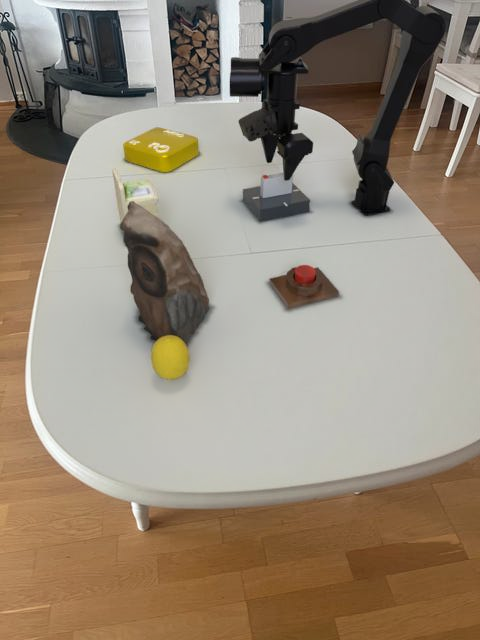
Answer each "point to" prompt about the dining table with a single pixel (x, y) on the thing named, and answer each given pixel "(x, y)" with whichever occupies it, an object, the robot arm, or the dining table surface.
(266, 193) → the white card in stand
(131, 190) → the toy sink
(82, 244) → the dining table surface
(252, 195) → the plate
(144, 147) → the element tile
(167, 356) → the lemon
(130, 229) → the owl
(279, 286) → the button block
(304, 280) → the button
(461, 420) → the dining table surface
